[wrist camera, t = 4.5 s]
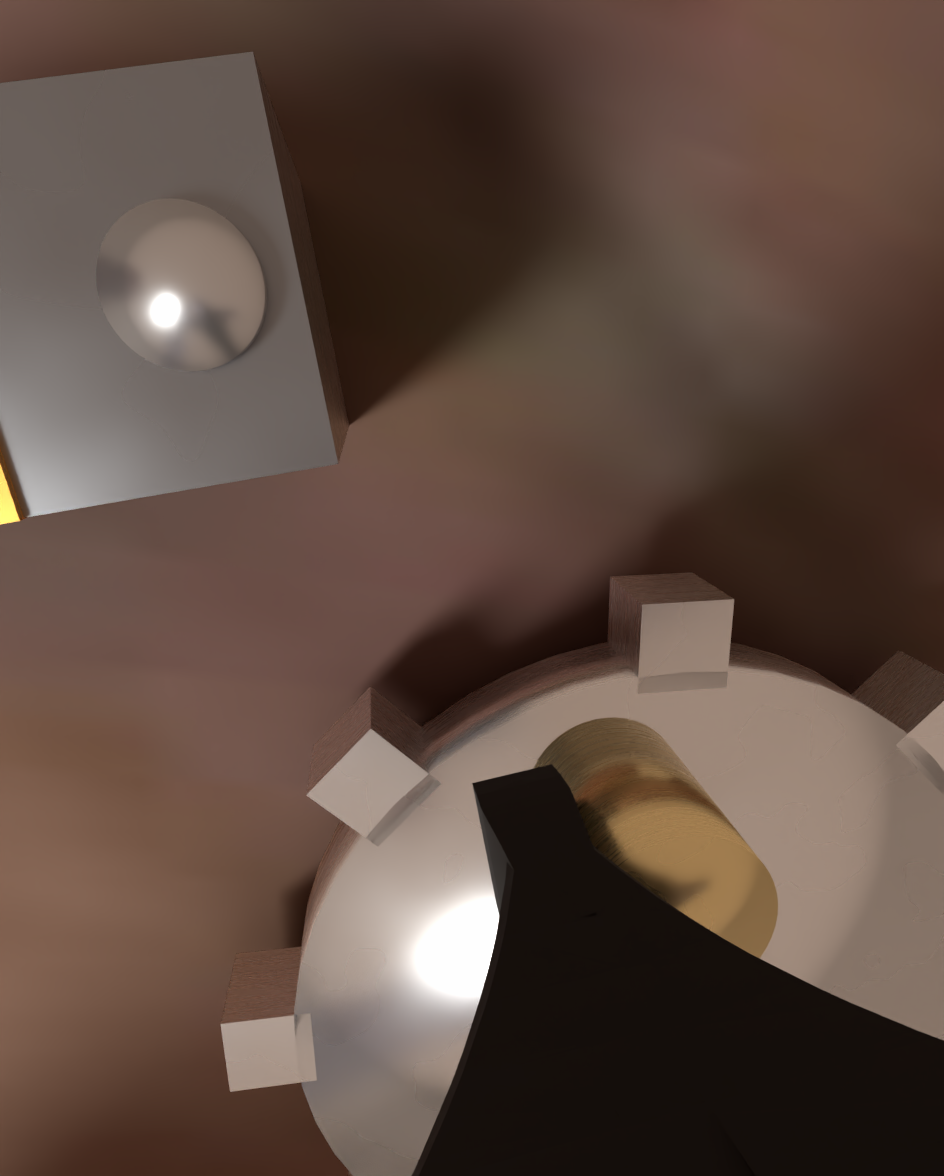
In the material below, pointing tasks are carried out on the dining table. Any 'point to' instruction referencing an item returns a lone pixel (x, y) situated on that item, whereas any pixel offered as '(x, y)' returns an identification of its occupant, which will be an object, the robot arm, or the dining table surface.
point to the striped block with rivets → (155, 290)
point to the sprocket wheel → (601, 849)
